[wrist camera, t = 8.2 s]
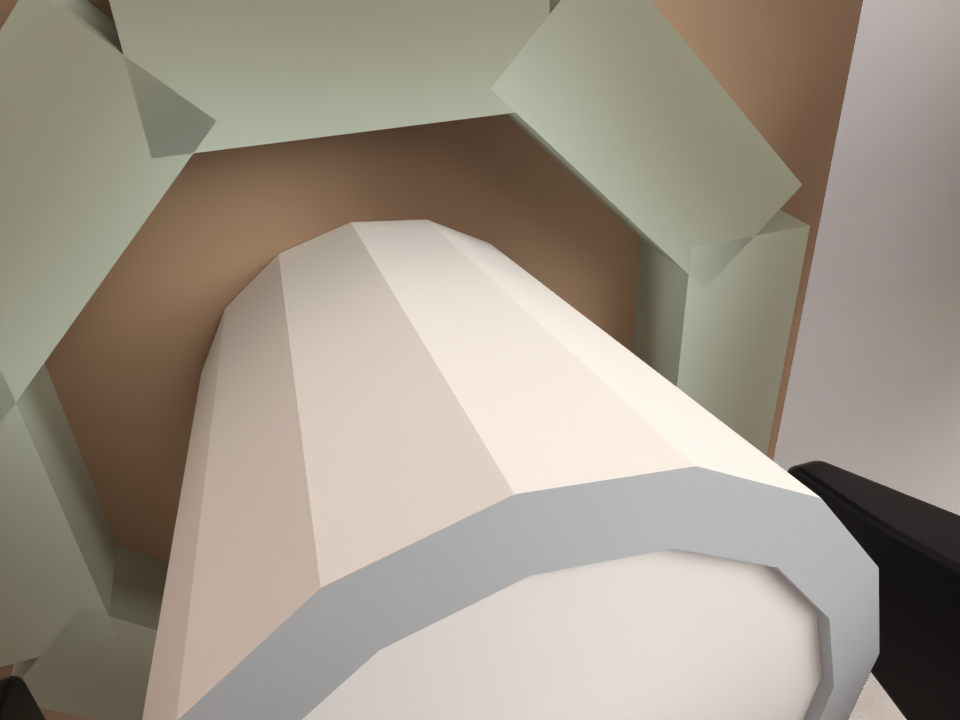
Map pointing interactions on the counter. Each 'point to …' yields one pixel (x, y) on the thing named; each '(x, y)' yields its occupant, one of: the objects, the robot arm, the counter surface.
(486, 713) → the white cylinder
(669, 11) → the gear board
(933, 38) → the counter surface
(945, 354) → the counter surface
